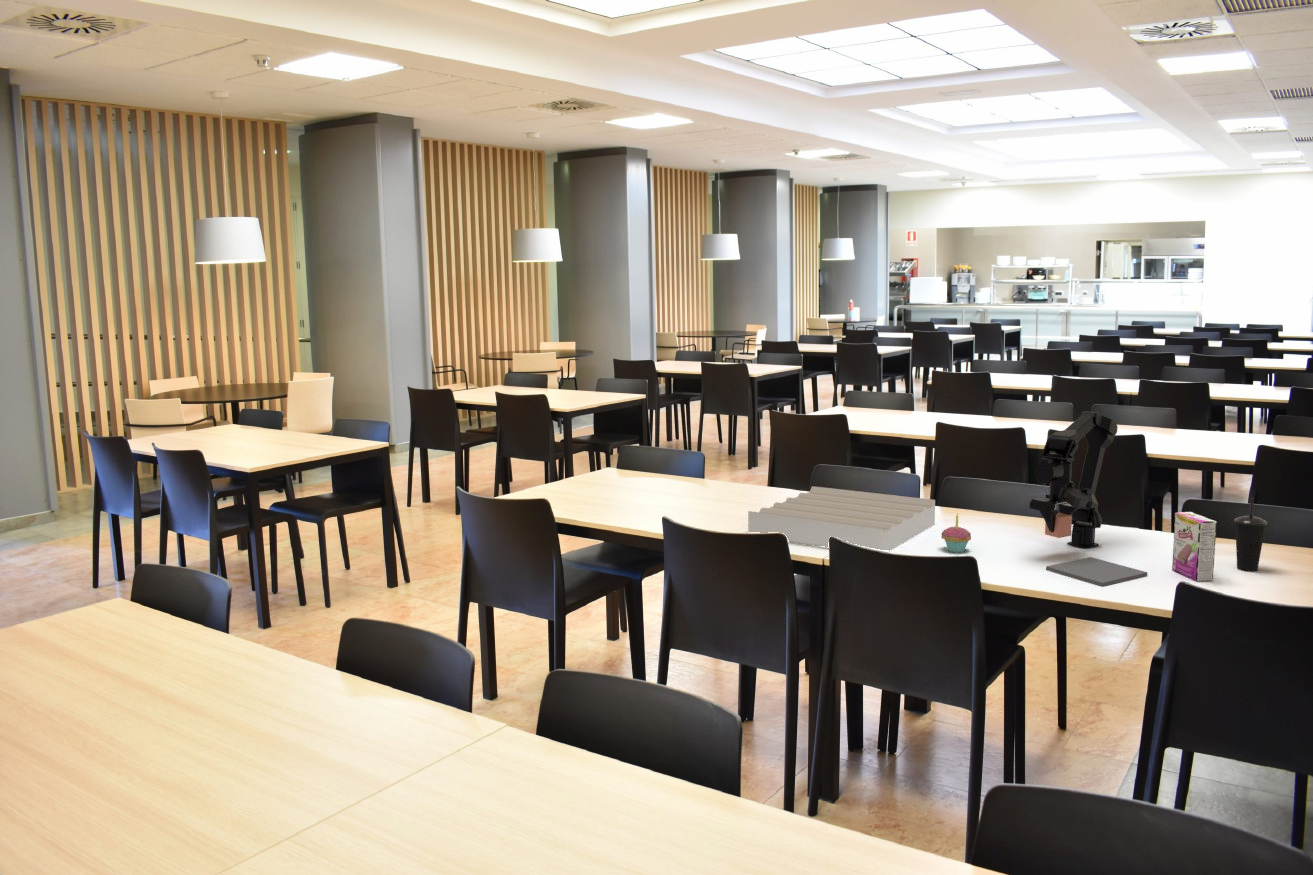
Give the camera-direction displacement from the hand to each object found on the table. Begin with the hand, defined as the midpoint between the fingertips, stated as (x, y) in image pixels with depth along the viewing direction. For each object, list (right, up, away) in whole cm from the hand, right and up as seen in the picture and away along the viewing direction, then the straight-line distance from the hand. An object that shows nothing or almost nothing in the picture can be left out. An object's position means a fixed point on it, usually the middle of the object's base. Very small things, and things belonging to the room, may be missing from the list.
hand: (1058, 530), depth 283 cm
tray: (-56, -4, +36) cm, 66 cm away
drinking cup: (+45, -9, -16) cm, 49 cm away
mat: (+4, -10, -16) cm, 19 cm away
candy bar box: (+28, -10, -20) cm, 36 cm away
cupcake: (-27, -7, +10) cm, 29 cm away
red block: (0, -1, 0) cm, 1 cm away
